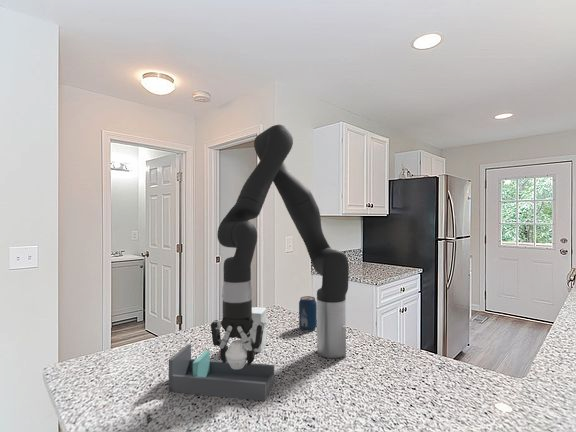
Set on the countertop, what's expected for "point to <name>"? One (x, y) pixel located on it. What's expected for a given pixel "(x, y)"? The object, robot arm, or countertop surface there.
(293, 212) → the robot arm
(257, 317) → the supplement box
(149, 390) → the countertop surface
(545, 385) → the countertop surface
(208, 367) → the teal flat slab
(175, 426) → the countertop surface
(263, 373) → the pusher lane
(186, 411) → the countertop surface
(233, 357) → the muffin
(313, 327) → the soda can
